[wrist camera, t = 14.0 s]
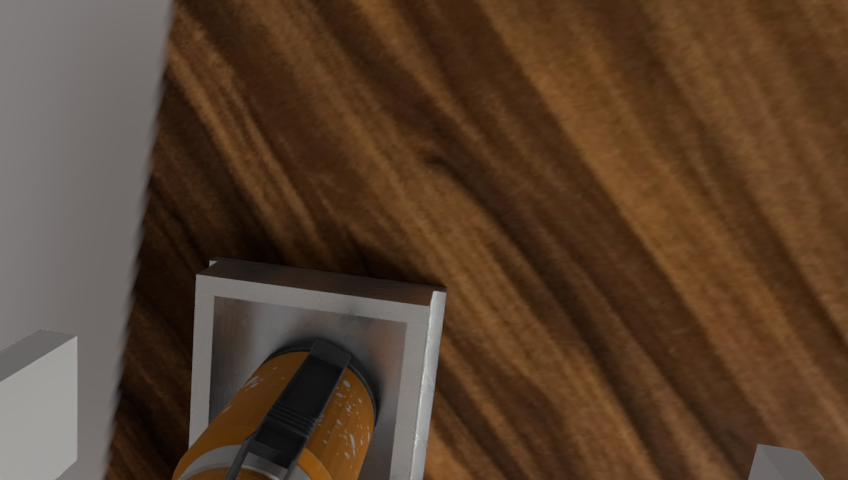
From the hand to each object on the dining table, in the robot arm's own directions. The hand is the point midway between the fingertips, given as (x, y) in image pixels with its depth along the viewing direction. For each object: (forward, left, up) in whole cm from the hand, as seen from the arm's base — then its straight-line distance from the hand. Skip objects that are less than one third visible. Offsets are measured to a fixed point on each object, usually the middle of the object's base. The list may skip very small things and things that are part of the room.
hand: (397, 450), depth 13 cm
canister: (+14, -8, -31) cm, 35 cm away
